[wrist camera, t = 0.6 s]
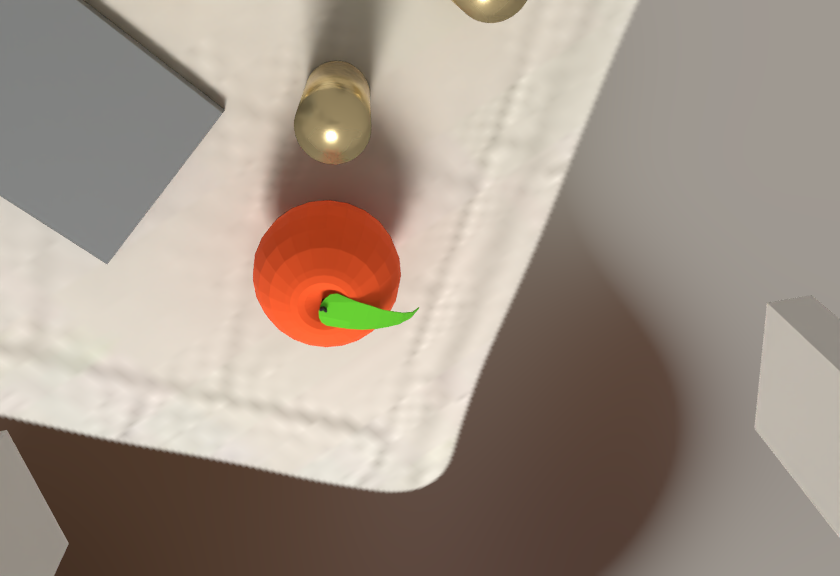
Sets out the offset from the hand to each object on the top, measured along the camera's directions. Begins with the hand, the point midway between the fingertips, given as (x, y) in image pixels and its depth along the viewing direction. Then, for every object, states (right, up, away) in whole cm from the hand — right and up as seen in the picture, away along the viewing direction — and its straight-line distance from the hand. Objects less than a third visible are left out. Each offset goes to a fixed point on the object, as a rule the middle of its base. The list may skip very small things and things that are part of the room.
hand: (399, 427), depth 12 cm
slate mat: (-16, +10, +20) cm, 28 cm away
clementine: (-4, +5, +24) cm, 25 cm away
